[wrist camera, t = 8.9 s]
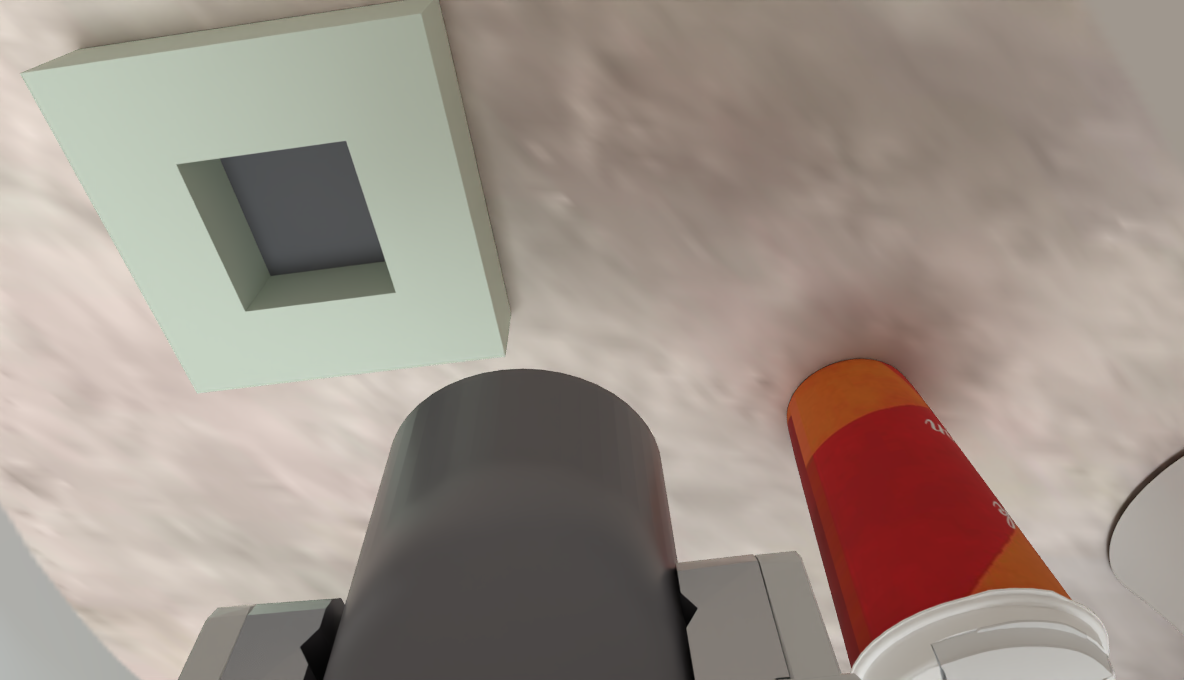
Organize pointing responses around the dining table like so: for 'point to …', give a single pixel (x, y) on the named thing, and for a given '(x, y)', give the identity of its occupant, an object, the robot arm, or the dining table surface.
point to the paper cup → (925, 544)
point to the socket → (290, 192)
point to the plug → (517, 542)
